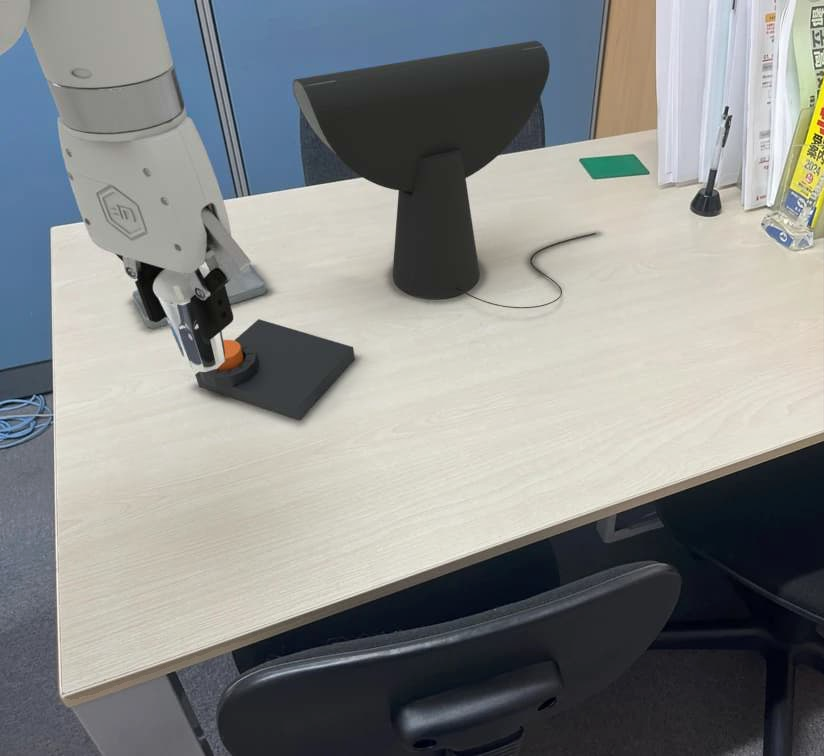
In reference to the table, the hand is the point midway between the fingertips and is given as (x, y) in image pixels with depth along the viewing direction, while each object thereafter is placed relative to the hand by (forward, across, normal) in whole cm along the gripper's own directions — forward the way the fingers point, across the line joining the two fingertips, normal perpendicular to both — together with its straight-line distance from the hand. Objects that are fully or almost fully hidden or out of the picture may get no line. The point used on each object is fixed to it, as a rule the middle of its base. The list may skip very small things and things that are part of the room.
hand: (191, 319), depth 58 cm
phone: (+22, -27, +25) cm, 43 cm away
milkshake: (+5, 0, 0) cm, 5 cm away
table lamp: (+22, +4, +48) cm, 53 cm away
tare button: (+18, -12, +13) cm, 25 cm away
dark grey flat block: (+22, -8, +16) cm, 28 cm away
